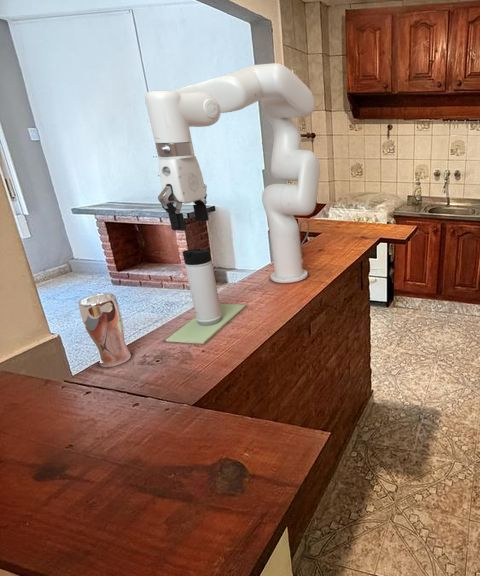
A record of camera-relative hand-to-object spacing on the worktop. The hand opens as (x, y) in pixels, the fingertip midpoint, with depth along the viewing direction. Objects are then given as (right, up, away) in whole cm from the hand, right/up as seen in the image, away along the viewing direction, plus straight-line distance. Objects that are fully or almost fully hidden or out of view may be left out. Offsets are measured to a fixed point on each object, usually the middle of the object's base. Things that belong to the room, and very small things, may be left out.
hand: (191, 225), depth 97 cm
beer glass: (-13, -32, -7) cm, 35 cm away
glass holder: (+12, -2, +66) cm, 67 cm away
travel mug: (0, -24, +9) cm, 26 cm away
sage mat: (0, -25, +9) cm, 26 cm away
